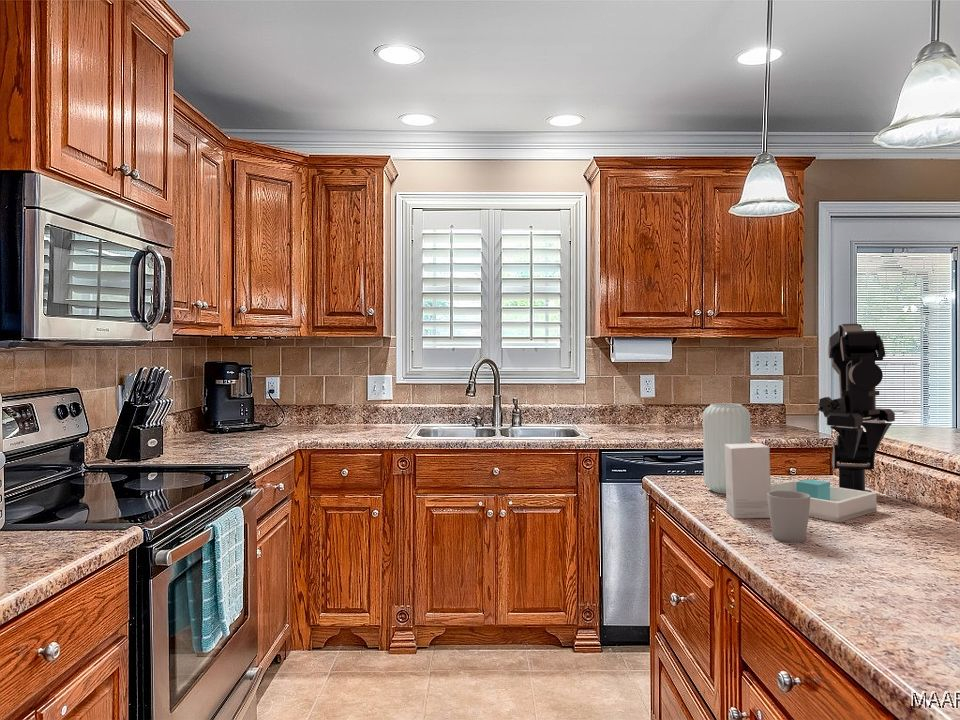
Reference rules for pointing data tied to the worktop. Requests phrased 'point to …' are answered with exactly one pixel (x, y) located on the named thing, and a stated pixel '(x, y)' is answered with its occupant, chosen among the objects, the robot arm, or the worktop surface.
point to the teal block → (815, 488)
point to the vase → (722, 439)
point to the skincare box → (747, 480)
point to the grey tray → (836, 502)
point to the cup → (789, 515)
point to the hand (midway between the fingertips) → (861, 455)
